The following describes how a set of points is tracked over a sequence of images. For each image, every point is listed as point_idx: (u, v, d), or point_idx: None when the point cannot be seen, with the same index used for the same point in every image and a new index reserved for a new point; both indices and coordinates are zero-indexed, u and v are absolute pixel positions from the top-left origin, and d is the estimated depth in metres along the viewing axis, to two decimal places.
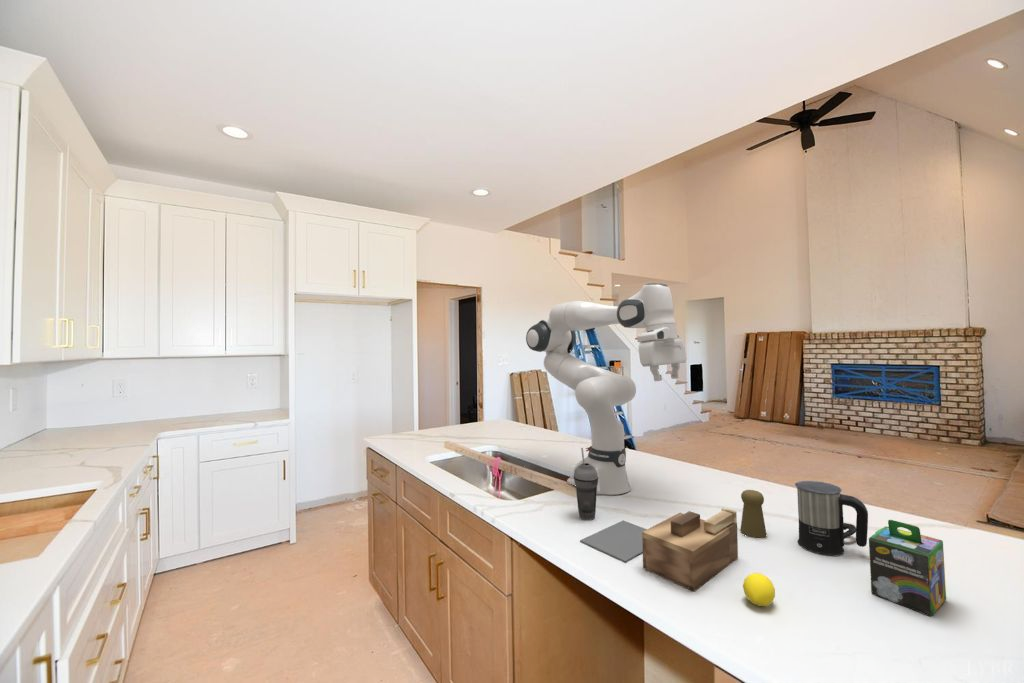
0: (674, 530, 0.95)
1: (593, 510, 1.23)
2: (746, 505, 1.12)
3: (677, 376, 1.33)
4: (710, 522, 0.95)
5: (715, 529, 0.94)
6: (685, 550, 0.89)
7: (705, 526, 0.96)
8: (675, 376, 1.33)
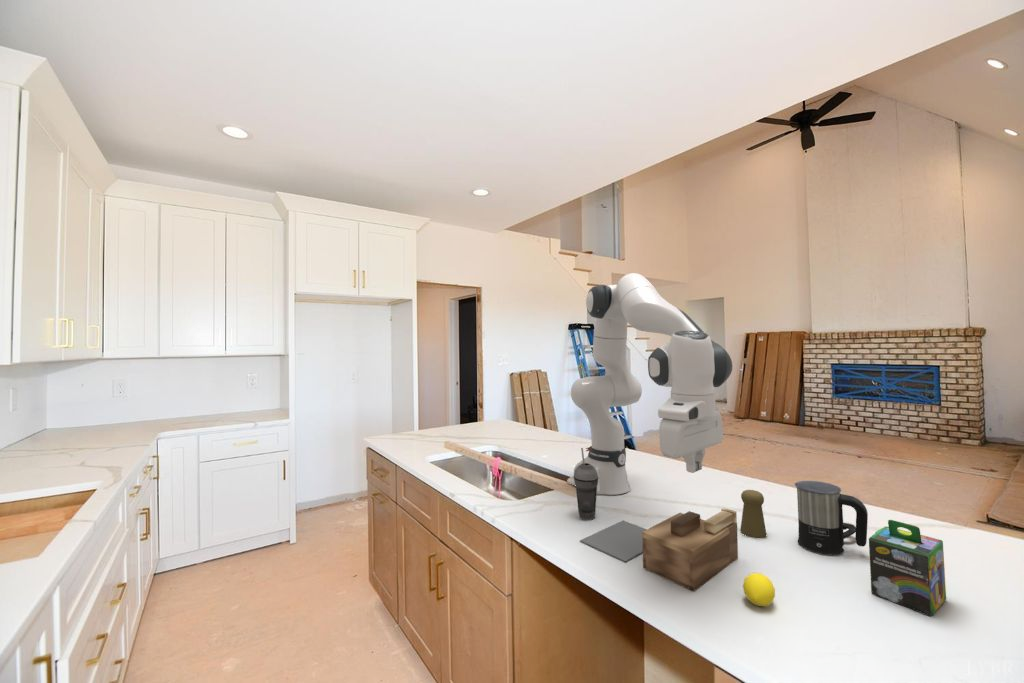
0: (674, 530, 0.95)
1: (593, 510, 1.23)
2: (746, 505, 1.12)
3: (700, 467, 0.92)
4: (710, 522, 0.95)
5: (715, 529, 0.94)
6: (685, 550, 0.89)
7: (705, 526, 0.96)
8: (697, 467, 0.92)
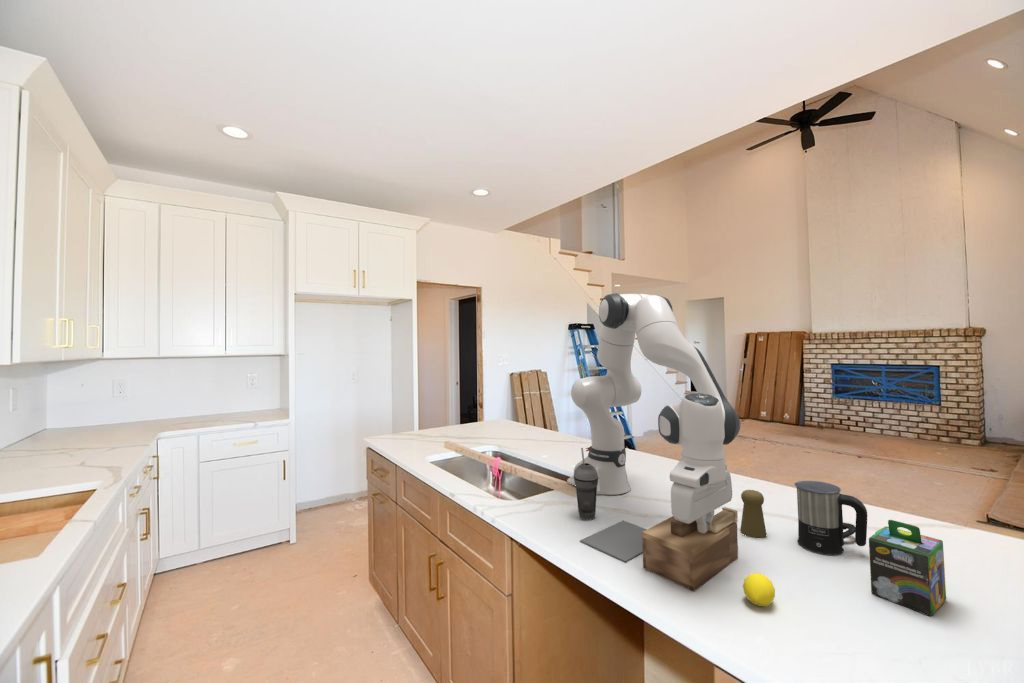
0: (674, 530, 0.95)
1: (593, 510, 1.23)
2: (746, 505, 1.12)
3: (710, 528, 0.95)
4: None
5: (716, 528, 0.95)
6: (685, 550, 0.89)
7: None
8: None
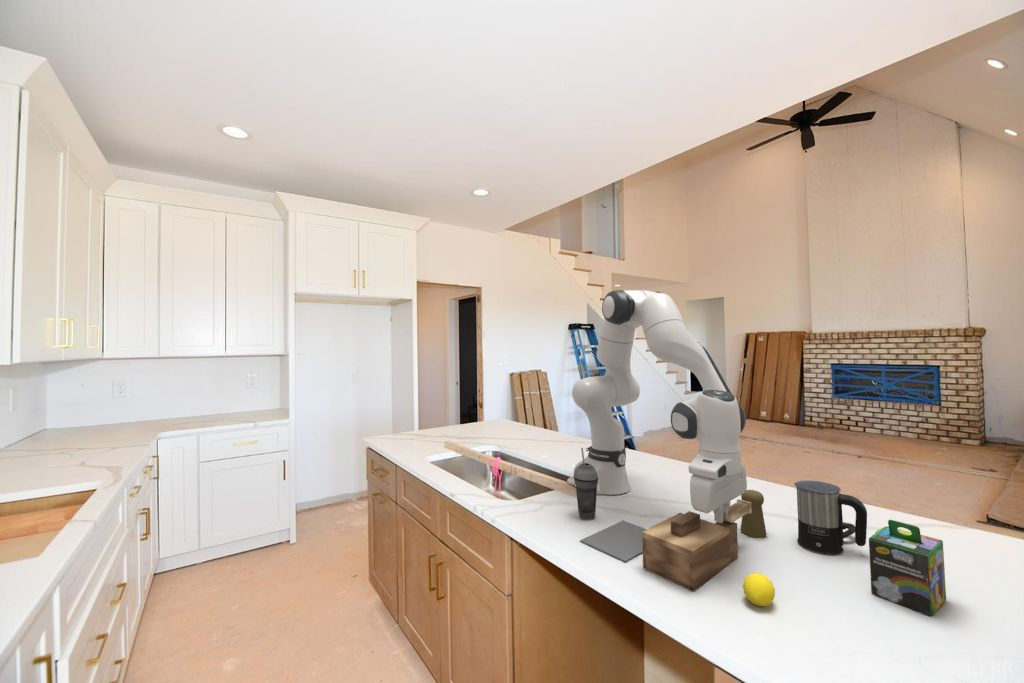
0: (674, 530, 0.95)
1: (593, 510, 1.23)
2: None
3: (726, 518, 0.99)
4: None
5: (732, 518, 0.99)
6: (685, 550, 0.89)
7: None
8: None
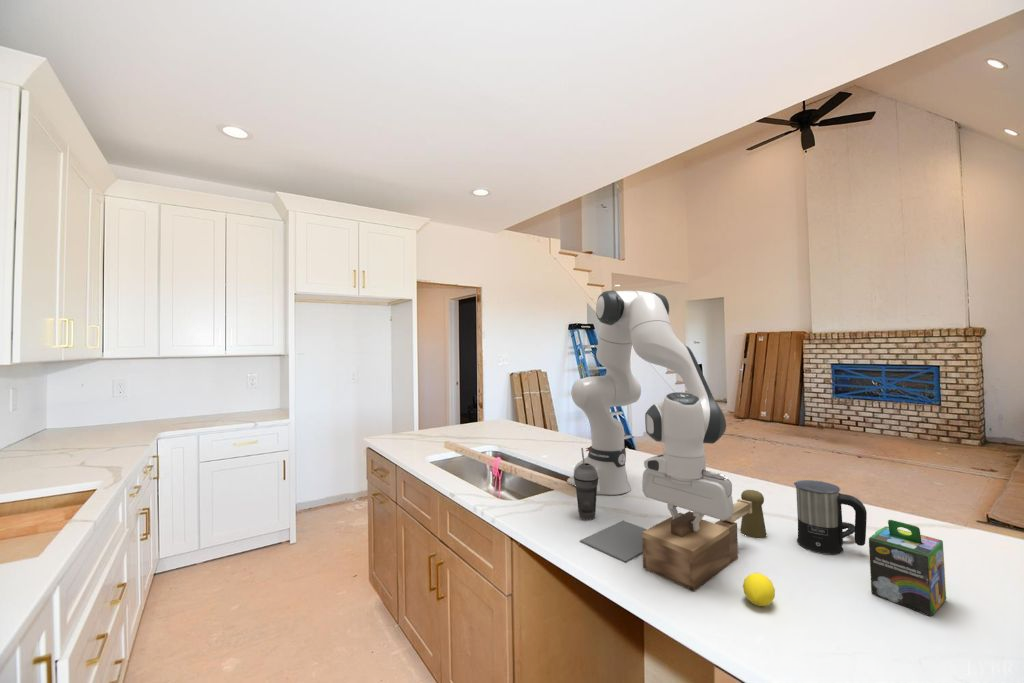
0: (674, 530, 0.95)
1: (593, 510, 1.23)
2: None
3: (692, 528, 0.95)
4: None
5: (733, 518, 1.00)
6: (685, 550, 0.89)
7: None
8: (690, 526, 0.96)
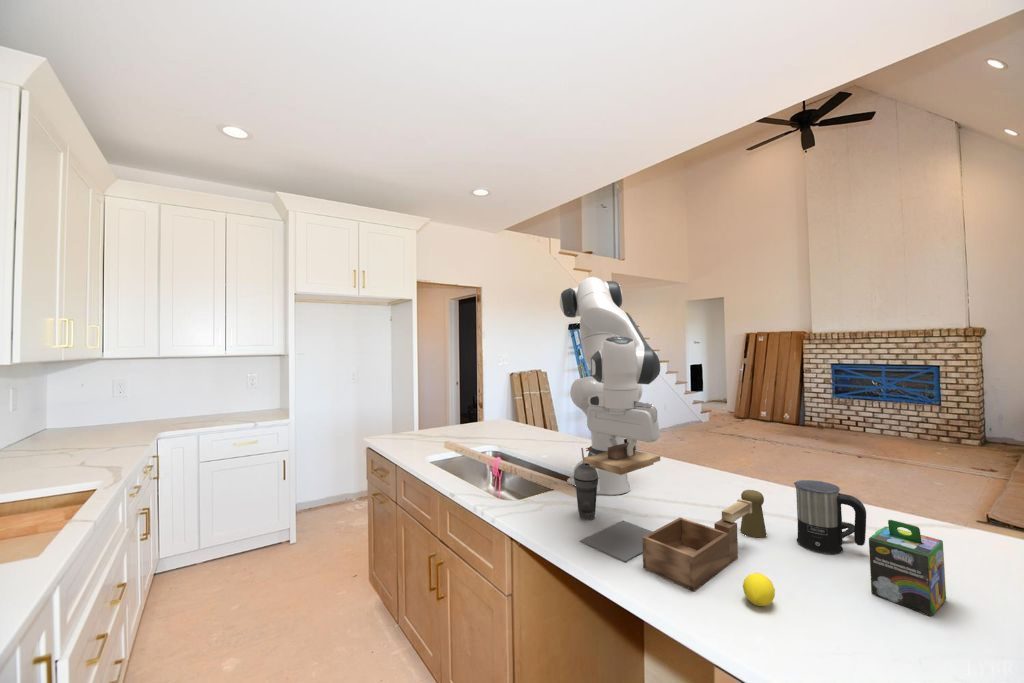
0: (610, 455, 1.08)
1: (593, 510, 1.23)
2: None
3: (626, 453, 1.08)
4: (727, 512, 1.00)
5: (733, 518, 1.00)
6: (616, 468, 1.02)
7: (722, 515, 1.01)
8: None
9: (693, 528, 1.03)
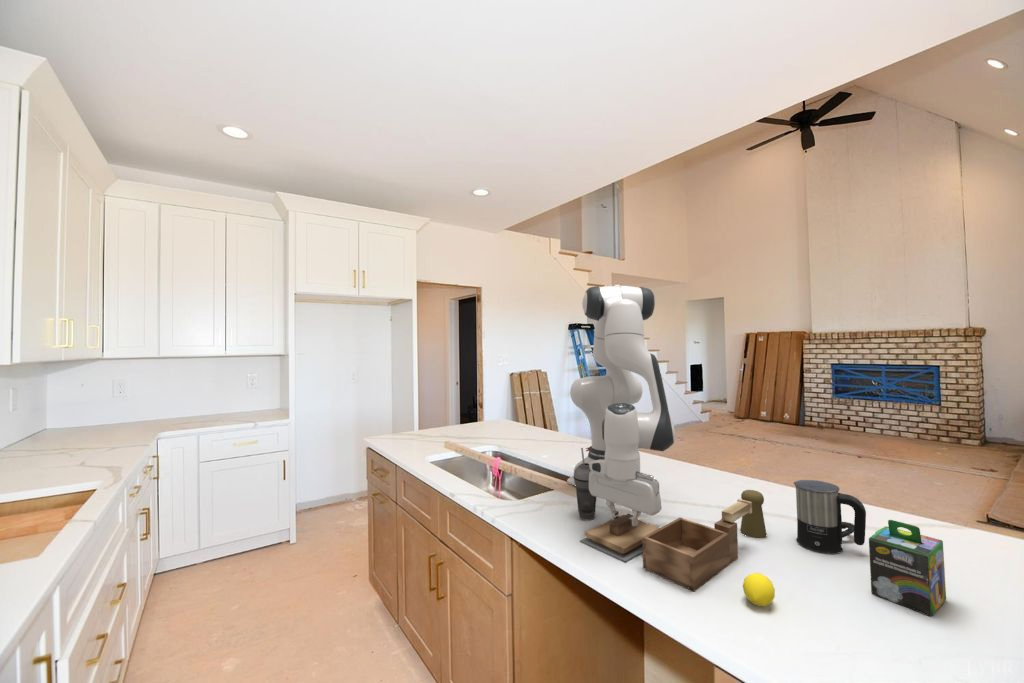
0: (612, 530, 1.08)
1: (593, 510, 1.23)
2: None
3: (631, 523, 1.07)
4: (727, 512, 1.00)
5: (733, 518, 1.00)
6: (618, 547, 1.02)
7: (722, 515, 1.01)
8: None
9: (693, 528, 1.03)
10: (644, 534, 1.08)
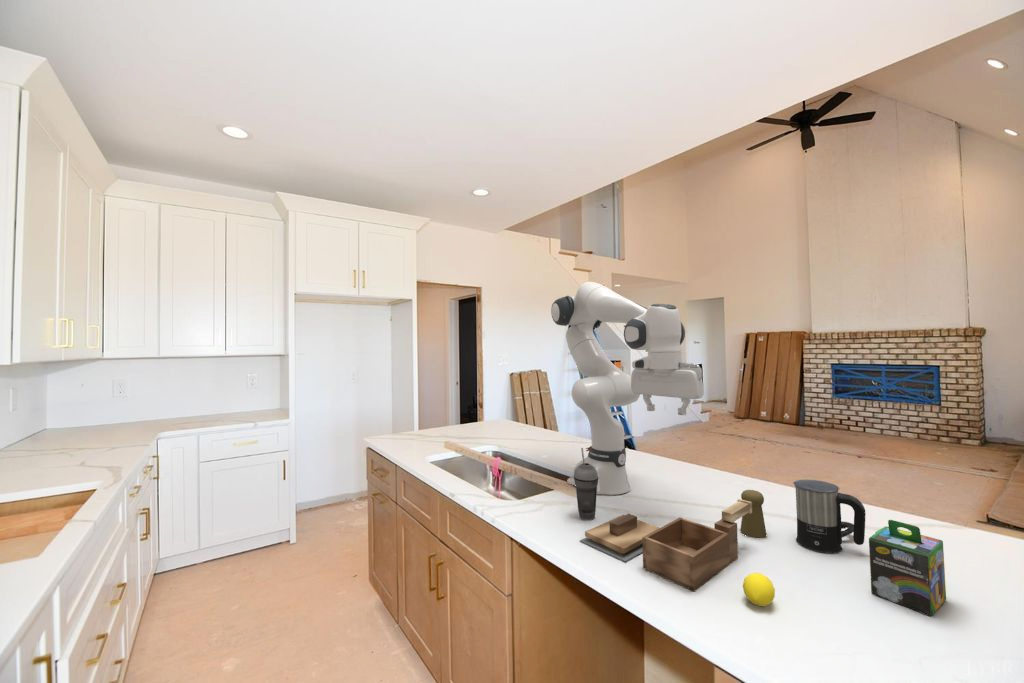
0: (612, 530, 1.08)
1: (593, 510, 1.23)
2: None
3: (680, 412, 1.14)
4: (727, 512, 1.00)
5: (733, 518, 1.00)
6: (618, 547, 1.02)
7: (722, 515, 1.01)
8: None
9: (693, 528, 1.03)
10: (644, 534, 1.08)
